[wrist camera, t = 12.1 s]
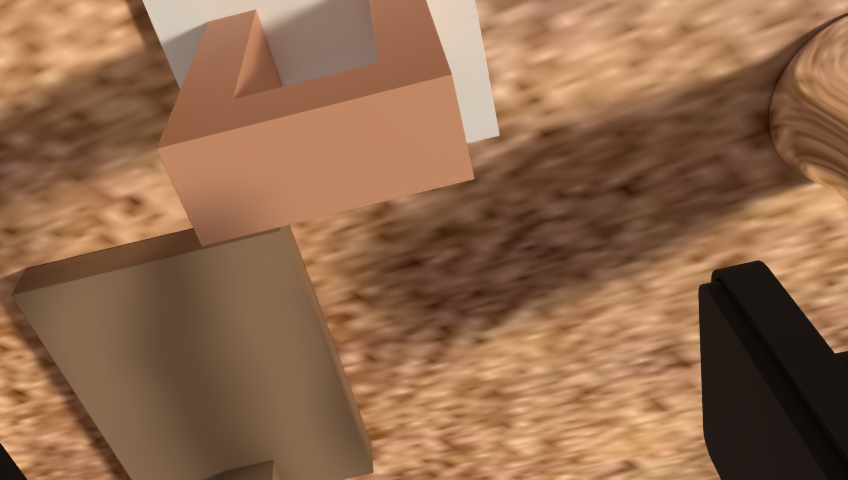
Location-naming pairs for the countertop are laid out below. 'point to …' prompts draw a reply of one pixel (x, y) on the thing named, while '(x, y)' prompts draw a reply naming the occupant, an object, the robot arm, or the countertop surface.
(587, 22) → the countertop surface
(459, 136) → the link
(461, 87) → the trivet
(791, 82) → the beer glass
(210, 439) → the stand
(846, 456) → the robot arm
